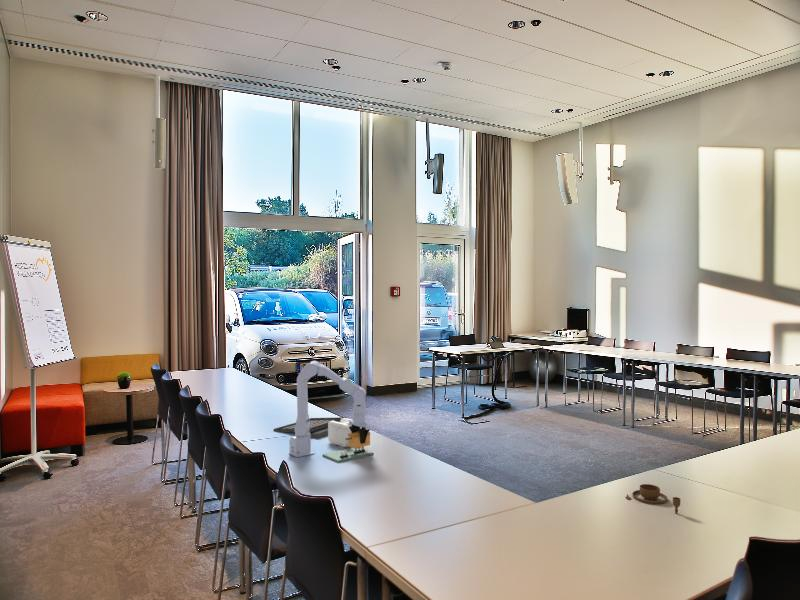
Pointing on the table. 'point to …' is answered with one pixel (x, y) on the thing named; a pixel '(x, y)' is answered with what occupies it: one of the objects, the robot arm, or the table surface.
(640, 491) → the place setting
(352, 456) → the board
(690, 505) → the table surface
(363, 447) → the led bulb strip
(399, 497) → the table surface
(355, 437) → the block
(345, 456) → the twin bulb fixture
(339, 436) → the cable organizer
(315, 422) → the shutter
